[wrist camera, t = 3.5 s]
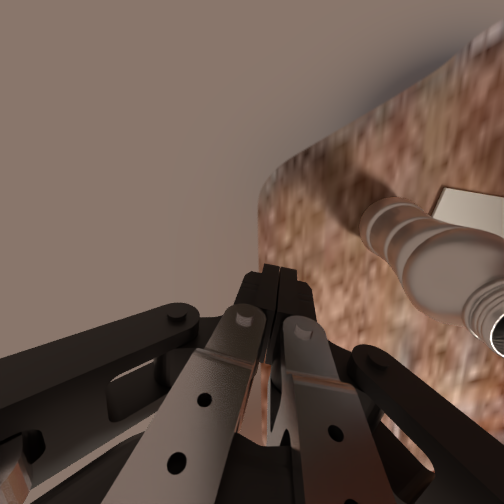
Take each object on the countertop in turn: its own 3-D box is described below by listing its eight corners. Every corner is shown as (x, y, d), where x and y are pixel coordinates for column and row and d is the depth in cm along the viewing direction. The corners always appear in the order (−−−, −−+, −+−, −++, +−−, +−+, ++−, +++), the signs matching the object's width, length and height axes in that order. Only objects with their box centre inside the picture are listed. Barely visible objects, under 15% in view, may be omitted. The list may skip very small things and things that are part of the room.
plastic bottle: (422, 201, 28) (678, 288, 9) (396, 253, 30) (555, 400, 12) (367, 187, 28) (511, 244, 10) (346, 240, 31) (426, 363, 12)
